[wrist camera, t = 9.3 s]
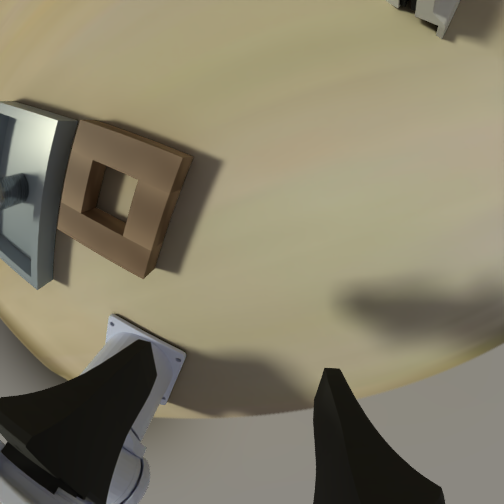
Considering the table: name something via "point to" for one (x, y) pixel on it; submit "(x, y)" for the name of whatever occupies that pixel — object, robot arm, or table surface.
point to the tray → (33, 186)
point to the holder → (144, 200)
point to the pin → (13, 190)
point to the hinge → (432, 11)
